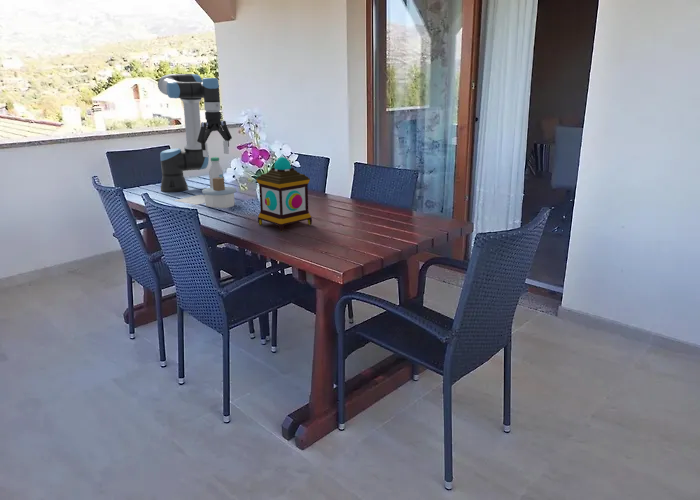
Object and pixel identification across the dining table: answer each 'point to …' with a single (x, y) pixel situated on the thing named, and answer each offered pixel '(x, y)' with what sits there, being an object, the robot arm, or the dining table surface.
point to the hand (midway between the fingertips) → (216, 155)
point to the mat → (193, 199)
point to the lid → (218, 188)
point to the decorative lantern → (283, 195)
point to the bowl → (220, 200)
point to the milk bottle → (215, 170)
